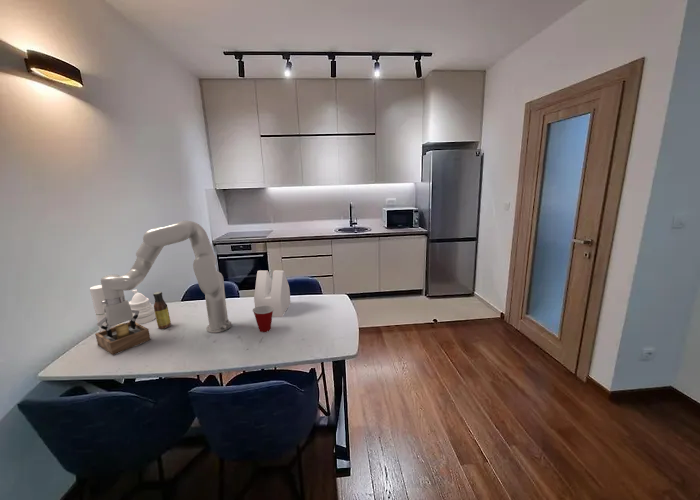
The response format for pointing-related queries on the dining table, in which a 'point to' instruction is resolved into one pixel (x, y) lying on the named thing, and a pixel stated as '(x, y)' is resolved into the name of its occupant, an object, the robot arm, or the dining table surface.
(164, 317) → the sauce bottle
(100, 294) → the cylindrical container
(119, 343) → the peg box
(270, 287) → the white notched block
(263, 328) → the plastic cup
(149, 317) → the honey pot
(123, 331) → the peg
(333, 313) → the dining table surface
